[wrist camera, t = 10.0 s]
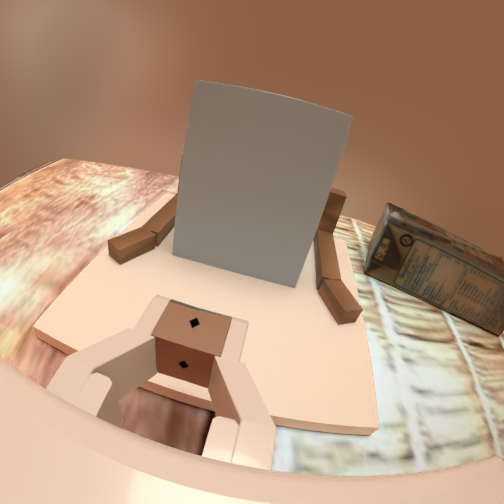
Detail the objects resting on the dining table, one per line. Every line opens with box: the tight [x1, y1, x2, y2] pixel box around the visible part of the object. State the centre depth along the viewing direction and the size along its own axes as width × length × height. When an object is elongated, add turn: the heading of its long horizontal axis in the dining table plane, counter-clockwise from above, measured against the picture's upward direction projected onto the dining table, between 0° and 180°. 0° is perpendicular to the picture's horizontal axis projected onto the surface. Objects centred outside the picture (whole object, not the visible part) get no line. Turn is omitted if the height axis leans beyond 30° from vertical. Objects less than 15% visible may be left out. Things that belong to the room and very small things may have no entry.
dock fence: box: [108, 155, 363, 325], centre depth 22 cm, size 18×12×5 cm
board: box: [33, 193, 379, 435], centre depth 21 cm, size 19×20×1 cm
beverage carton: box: [364, 203, 504, 336], centre depth 25 cm, size 8×19×6 cm, turn 64°
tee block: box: [172, 80, 353, 288], centre depth 21 cm, size 9×8×12 cm
